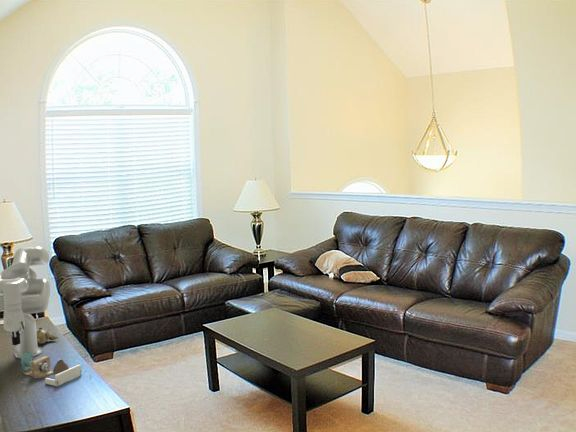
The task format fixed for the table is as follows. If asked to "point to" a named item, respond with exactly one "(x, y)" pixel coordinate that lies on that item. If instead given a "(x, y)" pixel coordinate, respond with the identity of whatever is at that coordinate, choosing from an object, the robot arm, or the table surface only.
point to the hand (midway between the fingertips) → (16, 344)
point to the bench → (35, 368)
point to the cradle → (65, 376)
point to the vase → (60, 367)
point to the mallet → (27, 360)
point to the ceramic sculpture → (44, 336)
